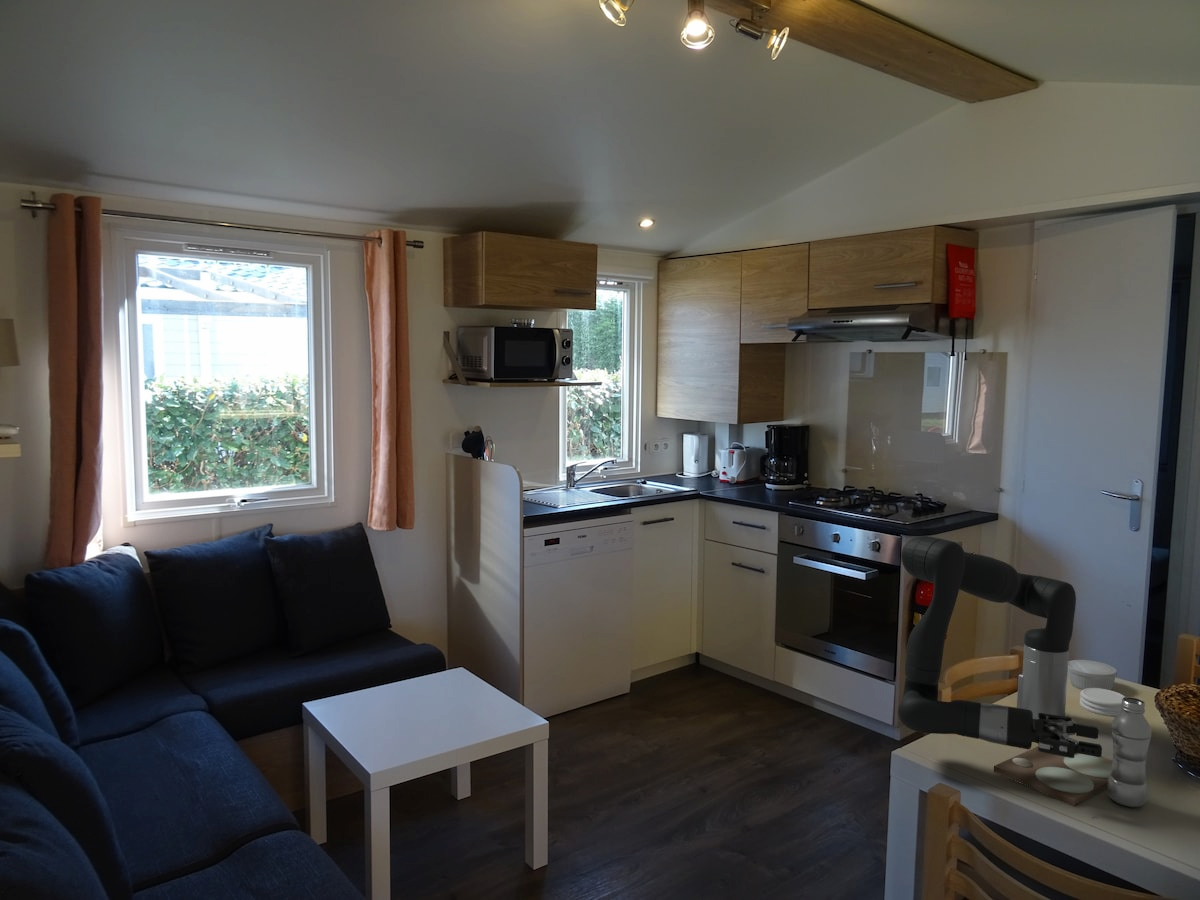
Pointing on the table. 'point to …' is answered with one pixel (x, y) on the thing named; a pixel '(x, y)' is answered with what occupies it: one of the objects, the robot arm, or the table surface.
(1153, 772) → the table surface
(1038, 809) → the table surface
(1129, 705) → the plastic bottle
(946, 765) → the table surface
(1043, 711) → the robot arm
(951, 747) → the table surface
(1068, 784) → the board
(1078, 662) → the ramekin
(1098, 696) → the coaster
